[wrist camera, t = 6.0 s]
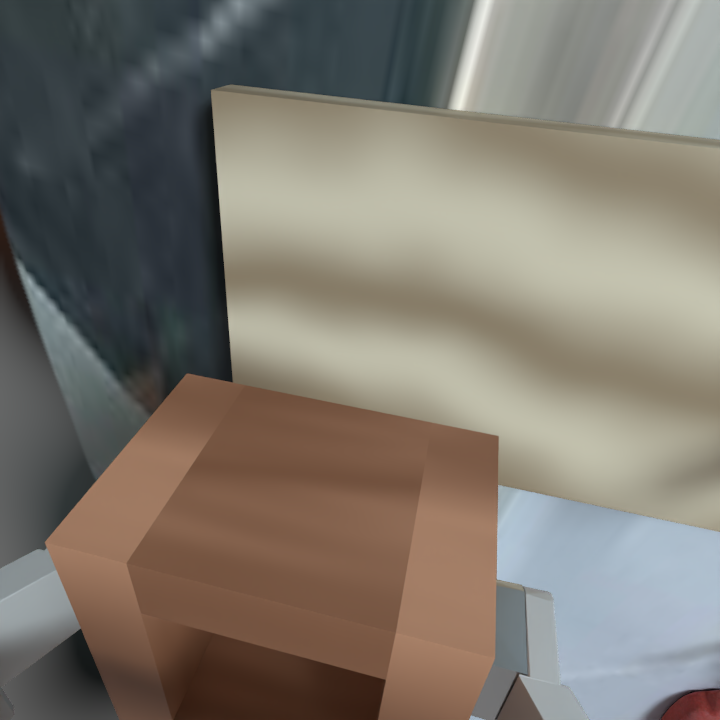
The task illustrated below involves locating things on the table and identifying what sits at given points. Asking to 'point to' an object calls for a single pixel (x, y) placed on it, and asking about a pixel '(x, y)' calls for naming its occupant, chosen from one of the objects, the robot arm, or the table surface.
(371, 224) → the board
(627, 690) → the table surface
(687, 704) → the stacking bear
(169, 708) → the bead
